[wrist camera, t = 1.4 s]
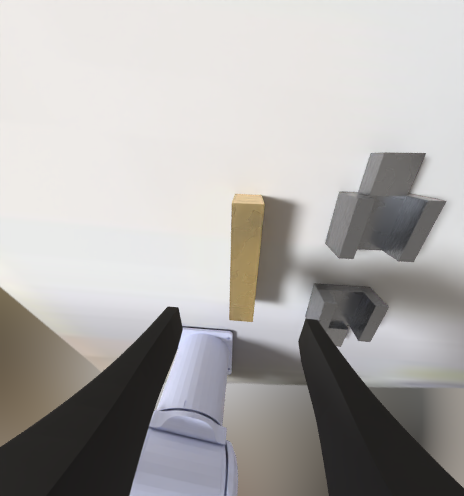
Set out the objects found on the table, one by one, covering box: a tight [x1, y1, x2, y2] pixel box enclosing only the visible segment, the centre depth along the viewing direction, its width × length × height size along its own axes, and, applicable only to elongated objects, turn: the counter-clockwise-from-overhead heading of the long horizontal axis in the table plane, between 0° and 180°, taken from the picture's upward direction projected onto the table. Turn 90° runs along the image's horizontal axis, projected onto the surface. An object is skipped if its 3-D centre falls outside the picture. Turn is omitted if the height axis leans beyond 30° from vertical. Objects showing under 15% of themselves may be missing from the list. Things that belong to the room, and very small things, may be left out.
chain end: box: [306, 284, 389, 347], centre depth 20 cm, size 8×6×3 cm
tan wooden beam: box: [229, 194, 265, 322], centre depth 18 cm, size 12×2×4 cm, turn 179°
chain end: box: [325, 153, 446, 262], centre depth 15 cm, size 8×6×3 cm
